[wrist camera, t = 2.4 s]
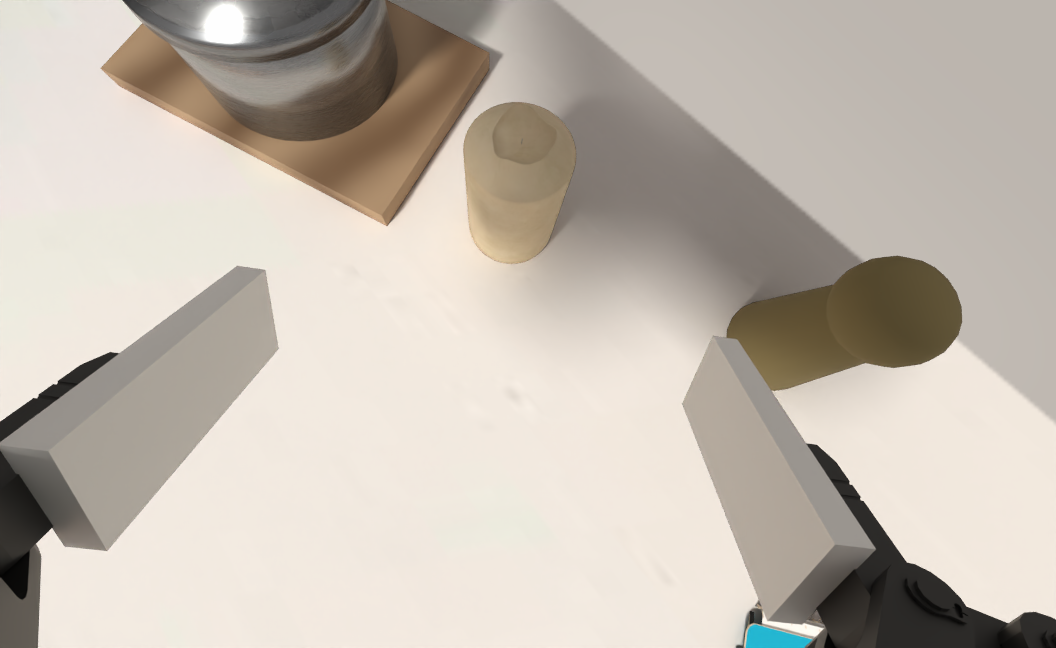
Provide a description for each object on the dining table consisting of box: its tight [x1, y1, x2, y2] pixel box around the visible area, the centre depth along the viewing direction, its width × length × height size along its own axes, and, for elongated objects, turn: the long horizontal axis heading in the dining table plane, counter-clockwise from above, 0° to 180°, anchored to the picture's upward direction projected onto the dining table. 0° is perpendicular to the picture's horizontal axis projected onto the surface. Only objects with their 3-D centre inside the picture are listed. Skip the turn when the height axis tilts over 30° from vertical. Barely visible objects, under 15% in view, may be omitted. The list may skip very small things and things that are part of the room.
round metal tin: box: [123, 0, 398, 141], centre depth 26 cm, size 13×13×8 cm
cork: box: [727, 256, 962, 391], centre depth 25 cm, size 6×6×11 cm
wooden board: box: [101, 0, 489, 226], centre depth 30 cm, size 20×14×2 cm
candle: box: [463, 102, 576, 264], centre depth 25 cm, size 6×6×10 cm
